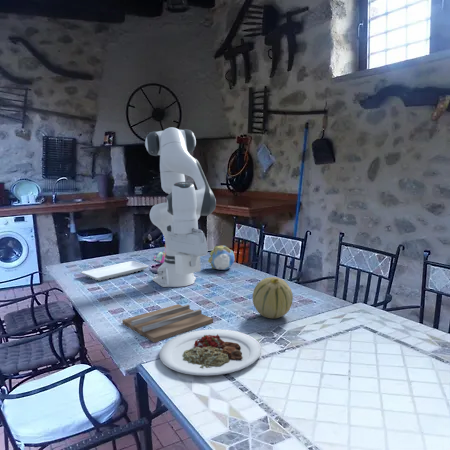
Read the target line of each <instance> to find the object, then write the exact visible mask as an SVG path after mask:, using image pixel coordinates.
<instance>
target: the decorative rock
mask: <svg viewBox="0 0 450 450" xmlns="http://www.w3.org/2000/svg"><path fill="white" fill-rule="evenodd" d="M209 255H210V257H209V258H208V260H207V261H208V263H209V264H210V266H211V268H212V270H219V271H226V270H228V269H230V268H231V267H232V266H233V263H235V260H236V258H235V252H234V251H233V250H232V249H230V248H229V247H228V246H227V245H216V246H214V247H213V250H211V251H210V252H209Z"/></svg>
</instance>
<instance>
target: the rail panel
mask: <svg viewBox="0 0 450 450" xmlns="http://www.w3.org/2000/svg"><path fill="white" fill-rule="evenodd" d="M121 321H122V324H123V325H124V326H125V327H127V328H129V329H131V330H132V331H134V332H135V333H137V334H138V335H140V336H142V337H144V338H145V339H147V340H149V341H151V342H152V343H158V342H161V341H163V340H166V339H169V338H173V337H174V336H175V337H176V336H179V335H182V334H185V333H188V332H190V331H192V330H196V329H199V328H201V327H204V326H207V325H210V324H214V318H212V317H211V316H208V315H207V314H202V309H201V308H198V309H196V310H193V309H191V307H190V304H185V305H181V304H179V303H177V304H174V305H171V306H167V307H164V308H160V309H156V310H153V311H150V312H146V313H142V314H139V315H136V316H135V315H134V316H132V317H129V318H124V319H122V320H121Z"/></svg>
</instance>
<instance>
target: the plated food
mask: <svg viewBox="0 0 450 450" xmlns="http://www.w3.org/2000/svg"><path fill="white" fill-rule="evenodd" d="M158 354H159V355H158V356H159V359H160V362H162V363H163V365H164V366H166V367H167V368H168V369H171V370H173V371H174V372H176V373H181V374H186V375H191V376H220V375H225V374H231V373H233V372H239V371H241V370H243V369H246V368H247V367H249V366H251V365H252V364H255V362H256V361H258V359H259V358H260V356H261V354H262V347H261V343H259V341H258V340H257V339H255V338H254V337H252V336H251V335H249V334H246V333H244V332H242V331H237V330H233V329H232V330H230V329H223V328H222V329H220V328H219V329H218V328H217V329H216V328H215V329H213V328H211V329H200V330H195V331H191V332H190V331H188V332H184V333H181V334H178V335H176V336H175V337H172V338H171V339H169V340H168V341H167V342H165V343H164V344H163V345H162V346H161V348H160V349H159V353H158Z"/></svg>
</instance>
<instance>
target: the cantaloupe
mask: <svg viewBox="0 0 450 450" xmlns="http://www.w3.org/2000/svg"><path fill="white" fill-rule="evenodd" d="M293 297H294V296H293V292H292V289H291V287H290V286H289V284H288V283H287V282H286V281H285V280H284V279H282V278H280V277H278V276H277V277H276V276H271V277H265V278H263V279H262V280H260V281H259V282H257V284H256V285H255V287H254V289H253V292H252V303H253V307H254V308H255V310H256V312H257V313H258V314H260V315H261V316H262V317H265V318H267V319H279V318H281V317H284V316H286V314H287V313H289V311H290V310H291V307H292V305H293V299H294V298H293Z"/></svg>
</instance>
